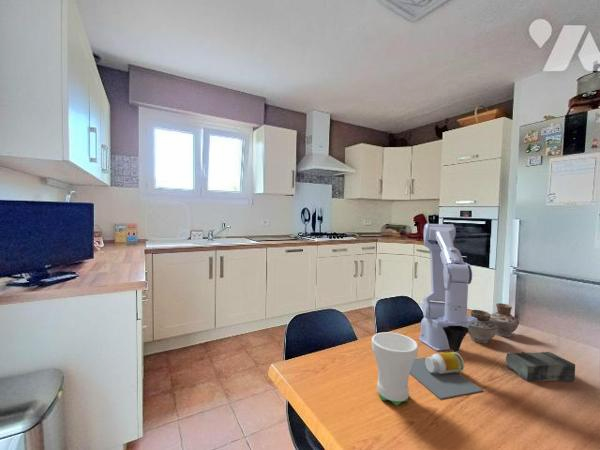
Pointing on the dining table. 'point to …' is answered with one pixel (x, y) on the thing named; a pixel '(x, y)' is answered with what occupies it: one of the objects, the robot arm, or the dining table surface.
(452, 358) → the supplement bottle
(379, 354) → the cup
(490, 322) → the pottery
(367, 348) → the dining table surface
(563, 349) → the dining table surface
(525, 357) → the stone block
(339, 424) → the dining table surface
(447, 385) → the mat
